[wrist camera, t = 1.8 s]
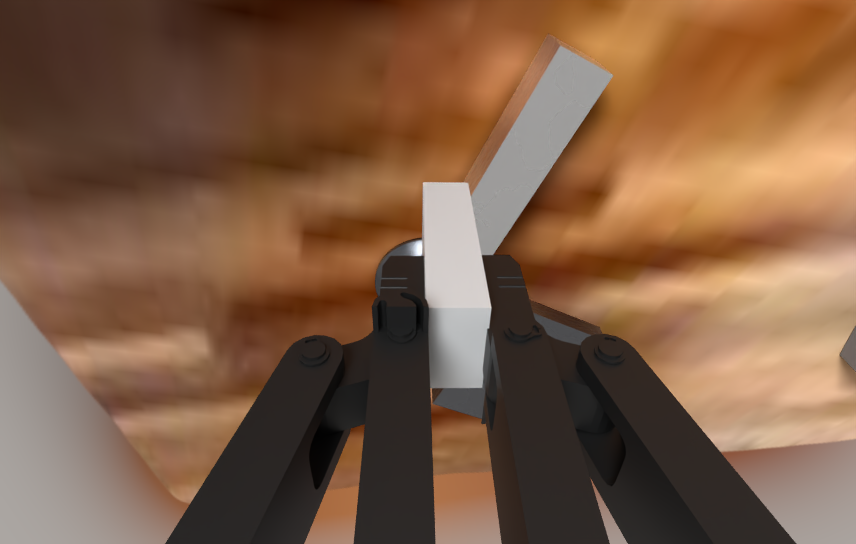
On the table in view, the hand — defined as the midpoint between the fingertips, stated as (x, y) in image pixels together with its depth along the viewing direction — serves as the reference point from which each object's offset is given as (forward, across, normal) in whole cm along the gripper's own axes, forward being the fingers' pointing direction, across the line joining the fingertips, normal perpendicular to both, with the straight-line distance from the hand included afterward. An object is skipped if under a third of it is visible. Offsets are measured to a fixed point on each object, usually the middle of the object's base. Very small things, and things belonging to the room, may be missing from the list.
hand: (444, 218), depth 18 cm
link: (+15, +3, -8) cm, 18 cm away
